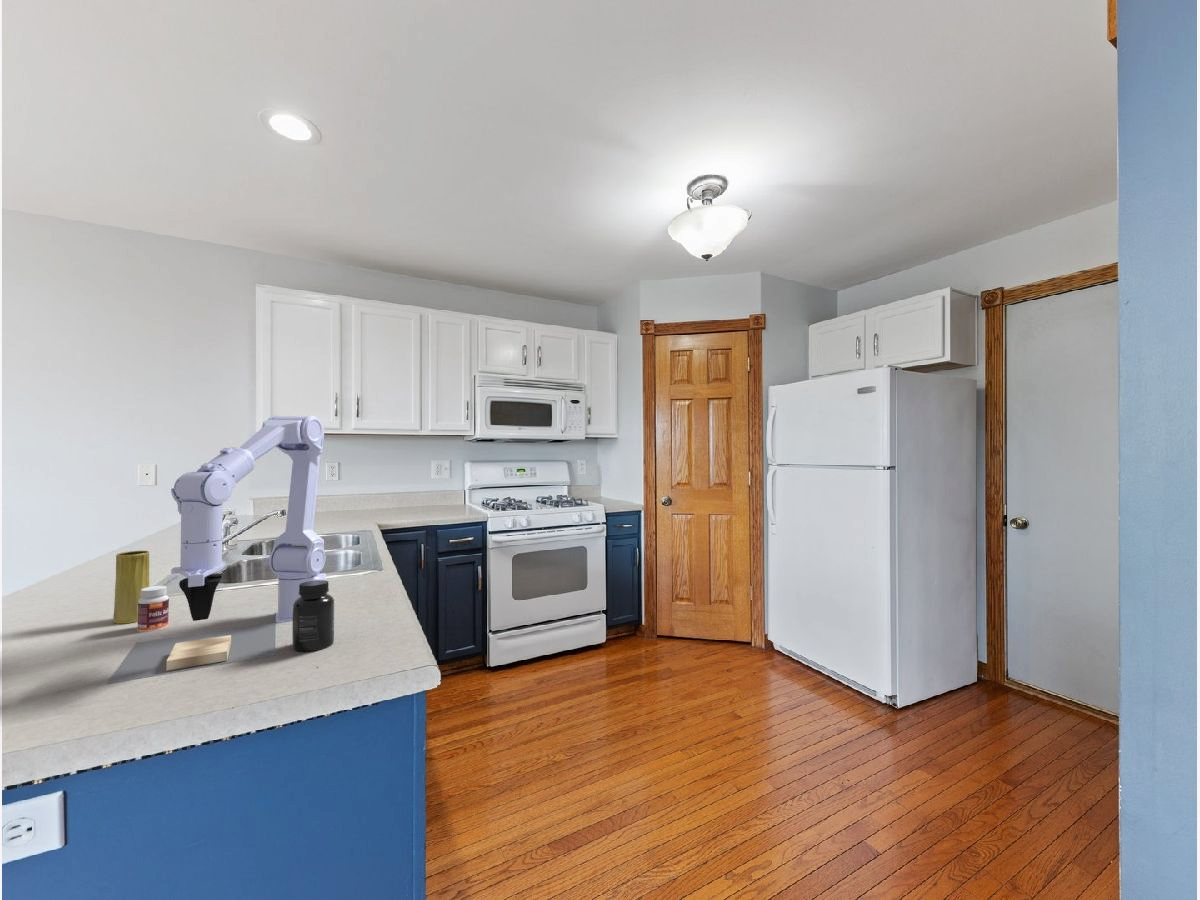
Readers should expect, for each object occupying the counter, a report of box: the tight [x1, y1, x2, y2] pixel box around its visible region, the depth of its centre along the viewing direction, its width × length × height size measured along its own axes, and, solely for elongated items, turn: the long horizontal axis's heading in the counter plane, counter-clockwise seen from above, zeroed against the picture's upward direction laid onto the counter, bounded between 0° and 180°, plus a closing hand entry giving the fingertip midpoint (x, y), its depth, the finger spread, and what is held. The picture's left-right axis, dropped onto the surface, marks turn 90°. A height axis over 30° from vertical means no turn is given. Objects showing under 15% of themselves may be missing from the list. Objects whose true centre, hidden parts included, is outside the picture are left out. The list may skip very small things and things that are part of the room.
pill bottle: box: [137, 585, 170, 633], centre depth 104 cm, size 5×5×8 cm
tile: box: [166, 635, 231, 671], centre depth 90 cm, size 8×2×9 cm
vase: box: [111, 550, 150, 625], centre depth 110 cm, size 6×6×14 cm
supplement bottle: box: [291, 579, 335, 653], centre depth 96 cm, size 7×7×12 cm
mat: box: [106, 622, 277, 685], centre depth 93 cm, size 22×20×1 cm
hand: (200, 619), depth 89 cm, fingers closed
